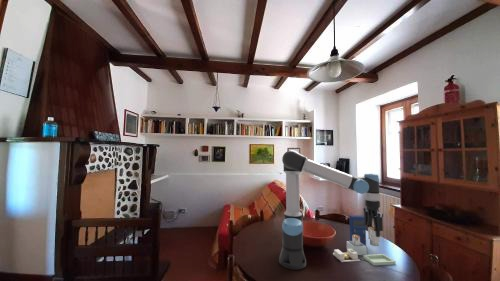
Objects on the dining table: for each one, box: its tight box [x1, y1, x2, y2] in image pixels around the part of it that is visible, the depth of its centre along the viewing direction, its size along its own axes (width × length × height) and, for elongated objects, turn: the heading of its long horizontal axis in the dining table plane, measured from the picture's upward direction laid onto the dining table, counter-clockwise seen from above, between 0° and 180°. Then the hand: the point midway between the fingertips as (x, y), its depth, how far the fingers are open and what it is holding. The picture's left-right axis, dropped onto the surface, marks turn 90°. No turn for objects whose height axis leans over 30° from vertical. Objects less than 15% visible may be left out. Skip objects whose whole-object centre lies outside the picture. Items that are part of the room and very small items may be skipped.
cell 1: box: [352, 234, 360, 246], centre depth 131 cm, size 4×4×11 cm
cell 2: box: [369, 225, 380, 247], centre depth 120 cm, size 4×4×11 cm
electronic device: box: [348, 214, 367, 246], centre depth 142 cm, size 10×5×20 cm, turn 89°
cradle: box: [332, 248, 361, 263], centre depth 124 cm, size 12×10×5 cm
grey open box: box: [346, 240, 368, 256], centre depth 131 cm, size 8×8×6 cm
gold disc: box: [344, 254, 350, 260], centre depth 123 cm, size 4×4×2 cm
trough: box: [362, 253, 397, 266], centre depth 120 cm, size 14×9×2 cm, turn 97°
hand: (373, 240), depth 120 cm, fingers closed on cell 2, 4 cm apart
